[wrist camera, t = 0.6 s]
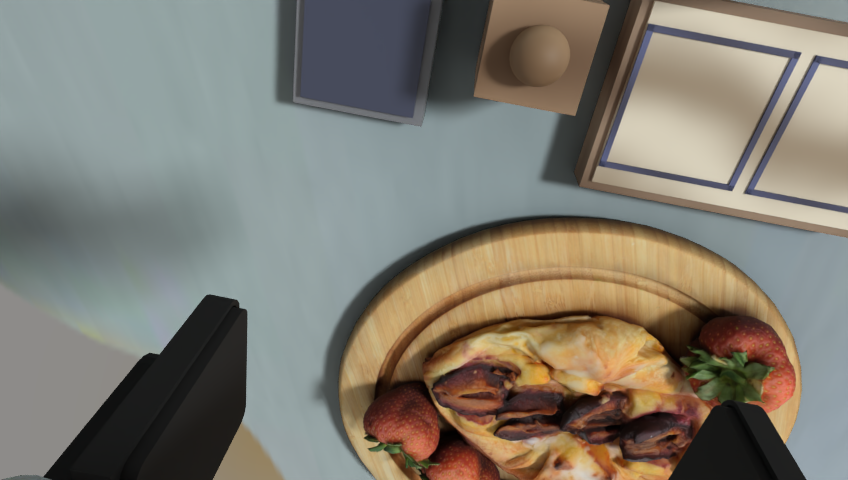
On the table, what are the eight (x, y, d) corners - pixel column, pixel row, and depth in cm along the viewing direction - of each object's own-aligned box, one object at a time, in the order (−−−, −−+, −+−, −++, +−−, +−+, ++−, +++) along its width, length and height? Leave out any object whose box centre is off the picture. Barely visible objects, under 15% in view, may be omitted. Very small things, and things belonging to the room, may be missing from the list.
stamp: (494, -27, 26) (498, -12, 20) (585, -10, 26) (619, 11, 20) (475, 66, 29) (472, 108, 22) (559, 82, 29) (581, 129, 22)
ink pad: (310, -92, 26) (297, -93, 24) (454, -65, 26) (452, -64, 24) (301, 94, 30) (290, 104, 29) (424, 117, 30) (420, 129, 29)
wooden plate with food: (725, 119, 29) (803, 181, 22) (825, 480, 42) (895, 592, 35) (260, 310, 39) (210, 396, 32) (456, 555, 52) (451, 655, 45)
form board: (636, -18, 26) (649, -13, 24) (964, 44, 26) (1004, 54, 24) (573, 172, 31) (580, 188, 29) (848, 224, 31) (873, 244, 29)
